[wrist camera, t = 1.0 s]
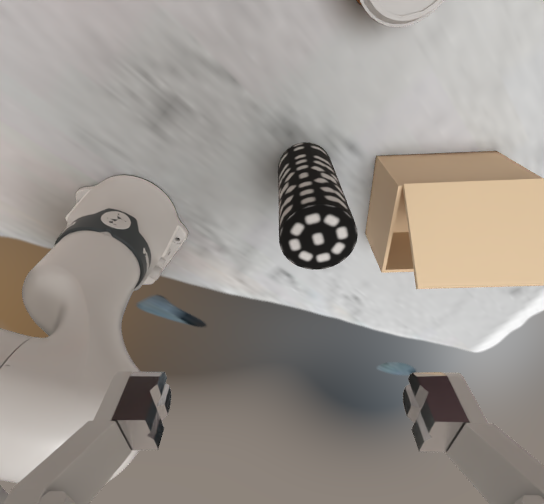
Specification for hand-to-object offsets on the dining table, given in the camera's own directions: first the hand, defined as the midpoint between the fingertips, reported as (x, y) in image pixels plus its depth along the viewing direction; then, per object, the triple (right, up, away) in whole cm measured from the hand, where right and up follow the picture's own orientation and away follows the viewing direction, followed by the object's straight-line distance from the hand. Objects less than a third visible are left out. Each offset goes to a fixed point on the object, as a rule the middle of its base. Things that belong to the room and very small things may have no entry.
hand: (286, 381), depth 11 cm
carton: (+25, +14, +43) cm, 51 cm away
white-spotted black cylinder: (+5, +17, +40) cm, 44 cm away
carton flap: (+25, +7, +28) cm, 38 cm away
